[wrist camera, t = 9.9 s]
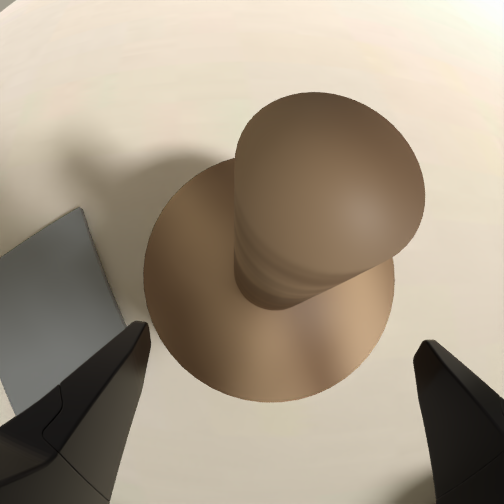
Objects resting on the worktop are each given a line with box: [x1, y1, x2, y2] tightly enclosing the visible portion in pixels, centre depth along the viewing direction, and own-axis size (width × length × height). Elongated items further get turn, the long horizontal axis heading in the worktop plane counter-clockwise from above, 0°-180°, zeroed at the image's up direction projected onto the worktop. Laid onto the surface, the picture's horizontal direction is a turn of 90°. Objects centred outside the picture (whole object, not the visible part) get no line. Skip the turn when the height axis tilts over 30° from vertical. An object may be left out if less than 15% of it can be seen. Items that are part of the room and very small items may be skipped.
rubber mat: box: [0, 207, 127, 416], centre depth 20 cm, size 13×13×1 cm
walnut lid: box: [143, 92, 425, 402], centre depth 11 cm, size 13×13×11 cm
